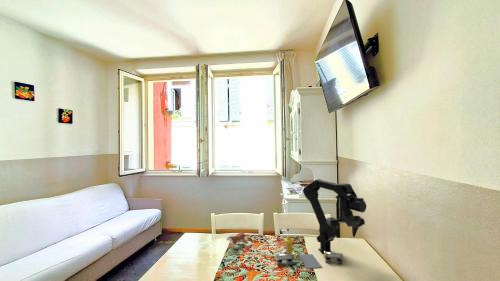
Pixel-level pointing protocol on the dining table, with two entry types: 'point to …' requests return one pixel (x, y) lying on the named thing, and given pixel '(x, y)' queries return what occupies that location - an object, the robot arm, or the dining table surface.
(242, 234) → the bull figurine
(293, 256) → the shaft
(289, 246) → the pressure relief valve
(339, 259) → the shaft
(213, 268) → the dining table surface
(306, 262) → the seat mat
